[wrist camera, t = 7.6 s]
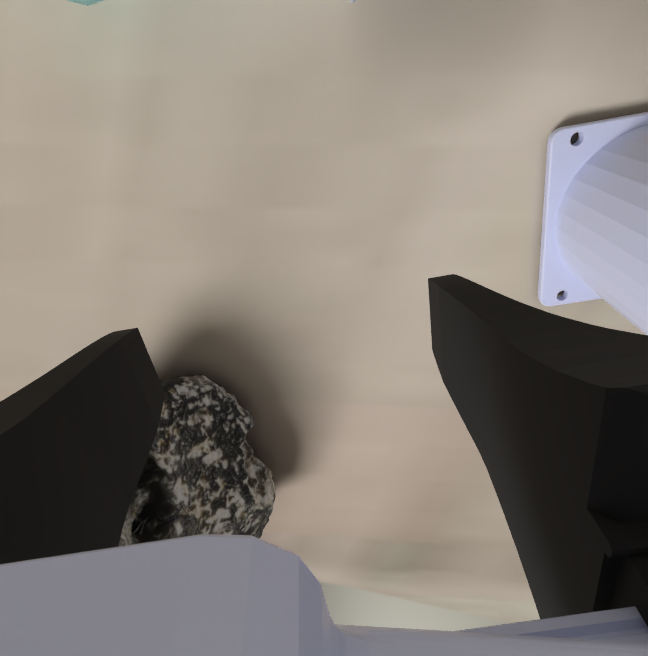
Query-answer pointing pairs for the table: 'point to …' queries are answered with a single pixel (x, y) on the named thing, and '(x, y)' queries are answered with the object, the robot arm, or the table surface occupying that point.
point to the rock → (200, 470)
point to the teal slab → (86, 1)
